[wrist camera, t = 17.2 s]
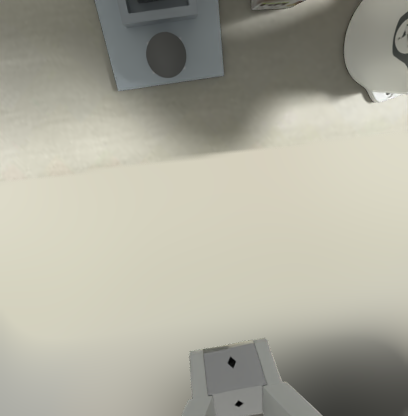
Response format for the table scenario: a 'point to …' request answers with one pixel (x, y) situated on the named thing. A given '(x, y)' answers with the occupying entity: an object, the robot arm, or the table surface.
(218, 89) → the table surface
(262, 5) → the coffee box
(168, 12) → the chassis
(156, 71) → the dark grey round knob
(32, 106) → the table surface
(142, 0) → the grey rectangular block
